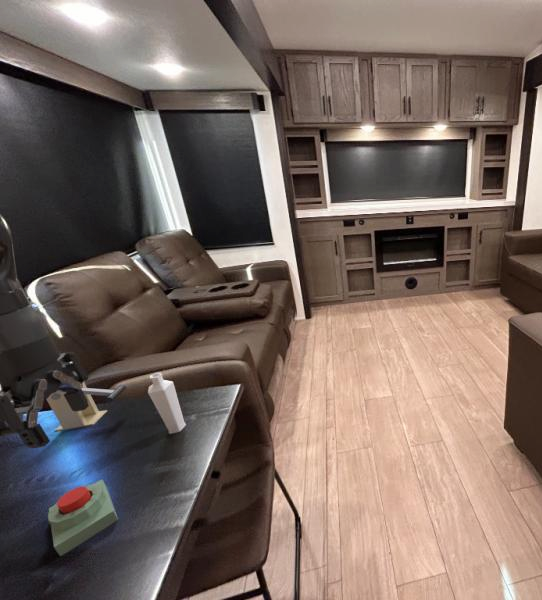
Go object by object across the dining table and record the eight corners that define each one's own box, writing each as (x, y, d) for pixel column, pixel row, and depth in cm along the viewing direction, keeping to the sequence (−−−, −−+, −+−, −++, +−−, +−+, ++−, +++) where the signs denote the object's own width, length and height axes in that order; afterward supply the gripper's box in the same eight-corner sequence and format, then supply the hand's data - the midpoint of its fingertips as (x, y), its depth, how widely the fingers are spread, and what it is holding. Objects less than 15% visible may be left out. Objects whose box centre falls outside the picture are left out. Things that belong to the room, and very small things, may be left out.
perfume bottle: (175, 424, 74) (152, 369, 69) (193, 423, 74) (172, 368, 69) (160, 439, 70) (135, 382, 65) (179, 438, 70) (156, 381, 65)
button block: (54, 517, 54) (43, 500, 53) (106, 487, 59) (98, 471, 58) (60, 556, 48) (48, 539, 47) (118, 519, 53) (109, 503, 52)
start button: (60, 505, 52) (55, 498, 52) (89, 489, 55) (85, 482, 54) (63, 518, 50) (57, 511, 49) (93, 501, 53) (88, 494, 52)
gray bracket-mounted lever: (126, 391, 79) (125, 383, 78) (112, 404, 74) (112, 395, 73) (67, 386, 76) (66, 378, 75) (49, 400, 71) (48, 391, 70)
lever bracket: (110, 412, 80) (90, 372, 76) (93, 429, 75) (71, 387, 71) (74, 418, 79) (52, 378, 75) (54, 435, 74) (30, 393, 69)
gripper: (25, 324, 53) (69, 403, 59) (-76, 370, 40) (-6, 466, 46) (76, 317, 54) (114, 395, 60) (-6, 359, 41) (53, 454, 47)
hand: (62, 426), depth 53 cm, fingers open, 8 cm apart
